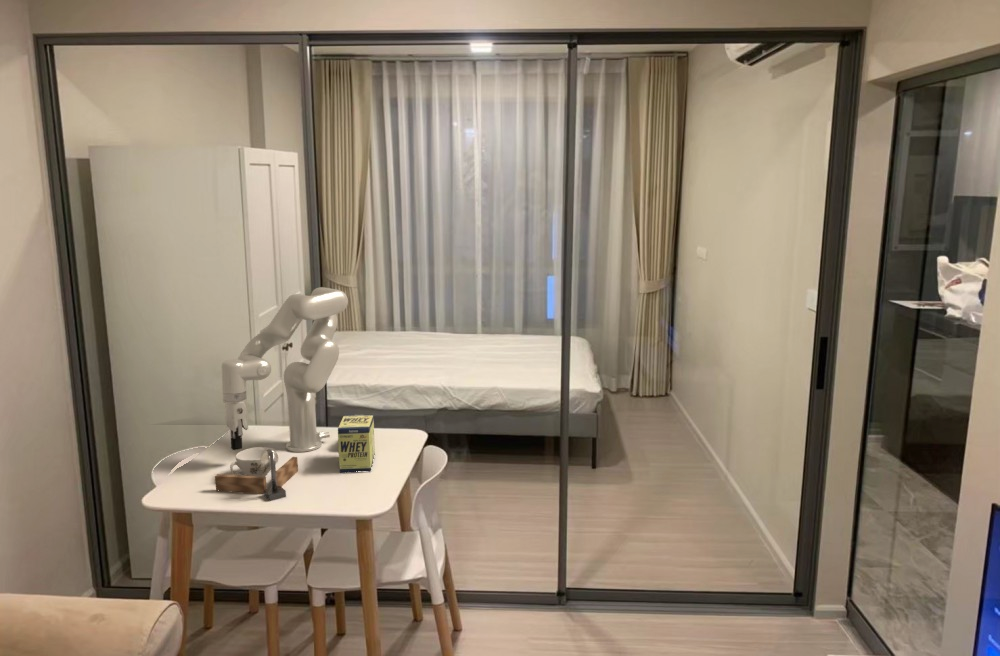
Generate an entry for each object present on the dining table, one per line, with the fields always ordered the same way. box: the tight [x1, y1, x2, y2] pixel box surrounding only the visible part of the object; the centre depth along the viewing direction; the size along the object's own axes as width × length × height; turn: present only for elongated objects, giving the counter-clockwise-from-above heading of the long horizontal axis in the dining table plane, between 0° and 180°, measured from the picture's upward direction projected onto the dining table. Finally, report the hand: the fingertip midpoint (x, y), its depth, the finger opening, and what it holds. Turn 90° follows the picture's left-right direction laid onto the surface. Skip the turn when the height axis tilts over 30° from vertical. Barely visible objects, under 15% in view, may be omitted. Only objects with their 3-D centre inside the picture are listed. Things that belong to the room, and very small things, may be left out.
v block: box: [214, 456, 299, 495], centre depth 226 cm, size 27×12×5 cm, turn 127°
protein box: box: [337, 413, 376, 474], centre depth 243 cm, size 10×16×16 cm
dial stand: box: [260, 450, 287, 502], centre depth 218 cm, size 5×6×14 cm
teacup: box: [229, 446, 277, 477], centre depth 233 cm, size 15×12×8 cm
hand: (236, 448), depth 243 cm, fingers closed
